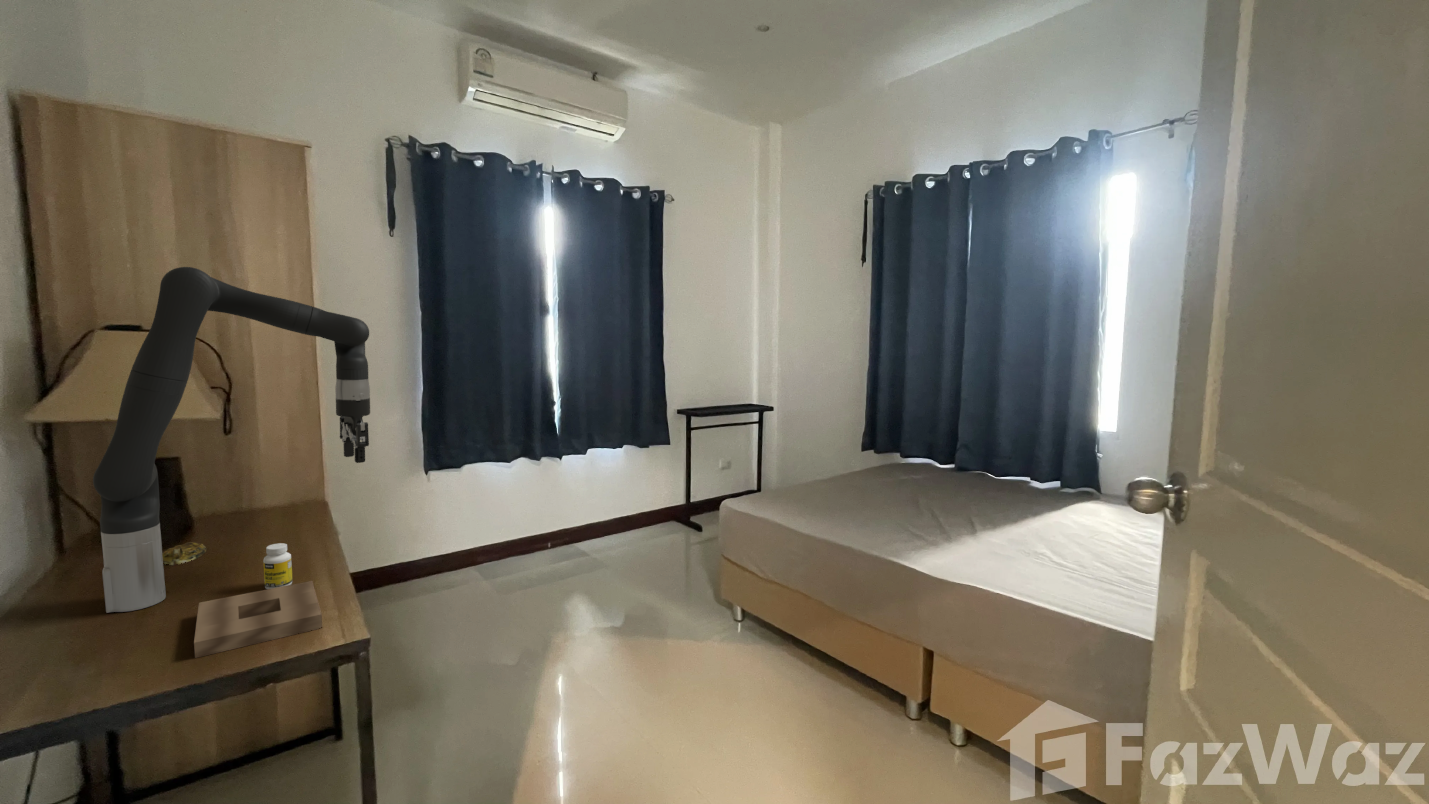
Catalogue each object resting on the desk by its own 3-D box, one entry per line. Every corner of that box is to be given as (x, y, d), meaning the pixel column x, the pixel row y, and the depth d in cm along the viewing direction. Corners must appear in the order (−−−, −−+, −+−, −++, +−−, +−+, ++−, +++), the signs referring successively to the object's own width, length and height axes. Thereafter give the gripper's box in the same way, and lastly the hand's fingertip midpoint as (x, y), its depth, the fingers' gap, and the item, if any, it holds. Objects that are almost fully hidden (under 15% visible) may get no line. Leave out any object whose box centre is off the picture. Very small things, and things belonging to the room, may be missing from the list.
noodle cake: (166, 554, 164) (154, 572, 152) (162, 537, 164) (149, 555, 151) (210, 544, 169) (202, 561, 157) (206, 528, 169) (198, 544, 156)
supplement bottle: (261, 591, 141) (258, 551, 140) (269, 582, 146) (267, 542, 145) (288, 589, 142) (286, 548, 141) (296, 579, 148) (293, 541, 146)
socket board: (195, 658, 113) (193, 642, 113) (200, 616, 128) (198, 602, 128) (322, 627, 125) (321, 614, 125) (312, 593, 141) (312, 580, 140)
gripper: (327, 394, 156) (329, 456, 158) (345, 400, 147) (347, 466, 148) (359, 393, 162) (361, 453, 163) (379, 399, 152) (380, 462, 154)
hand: (354, 459), depth 156 cm, fingers open, 8 cm apart
